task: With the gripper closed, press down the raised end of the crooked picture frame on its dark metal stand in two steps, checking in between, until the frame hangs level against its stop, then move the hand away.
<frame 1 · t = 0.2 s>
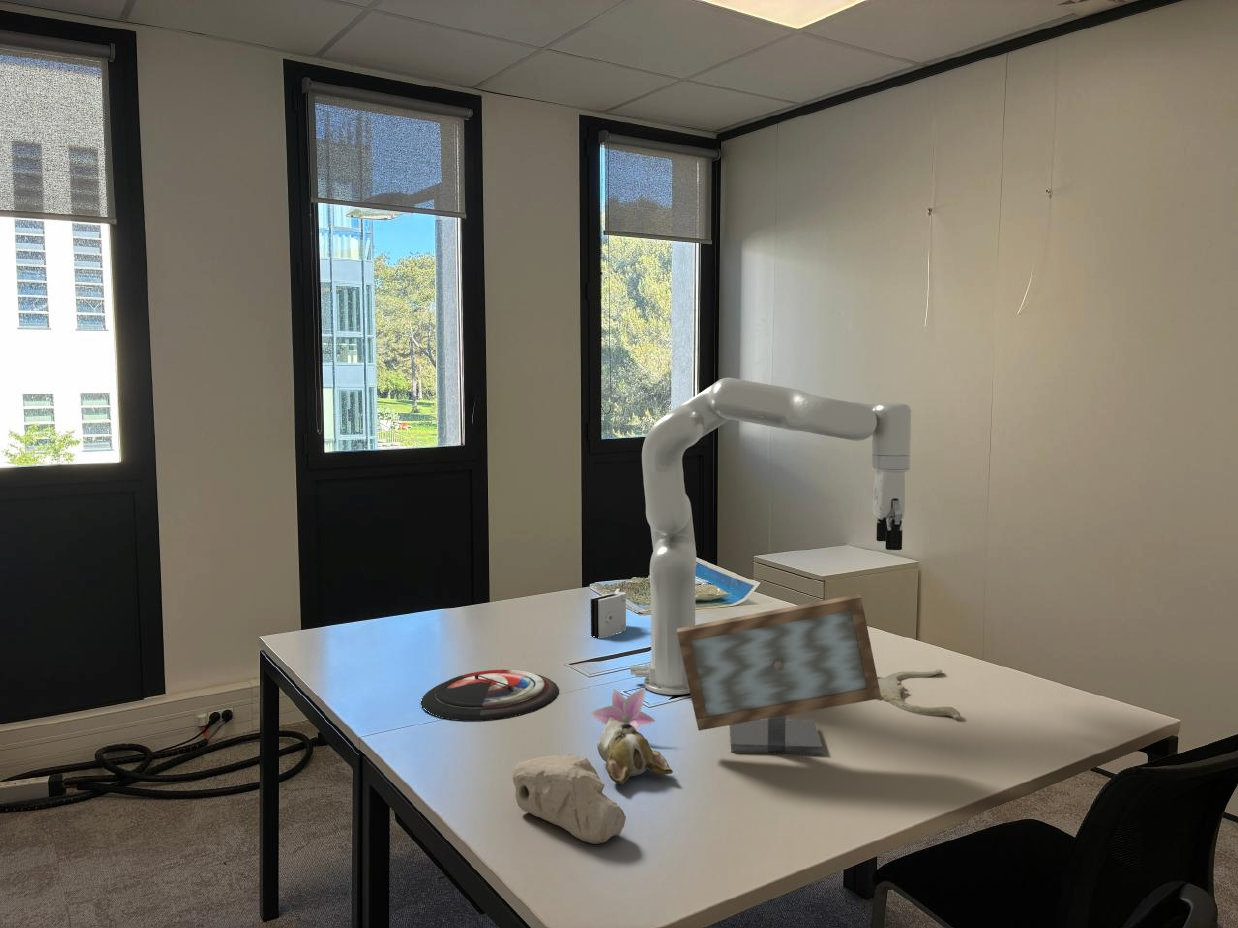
hand: (888, 545, 194), 31 cm above the table, fingers open, 9 cm apart
picture frame: (778, 663, 163), point 17 cm above the table, hinge at 12.0°
frame stand: (777, 756, 165), on the table
decorative stone: (566, 824, 142), on the table
wall clock: (490, 699, 197), on the table
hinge: (609, 632, 244), on the table
ceramic sculpture: (628, 773, 159), on the table
decorative wall piece: (876, 694, 198), on the table
lily: (624, 740, 173), on the table
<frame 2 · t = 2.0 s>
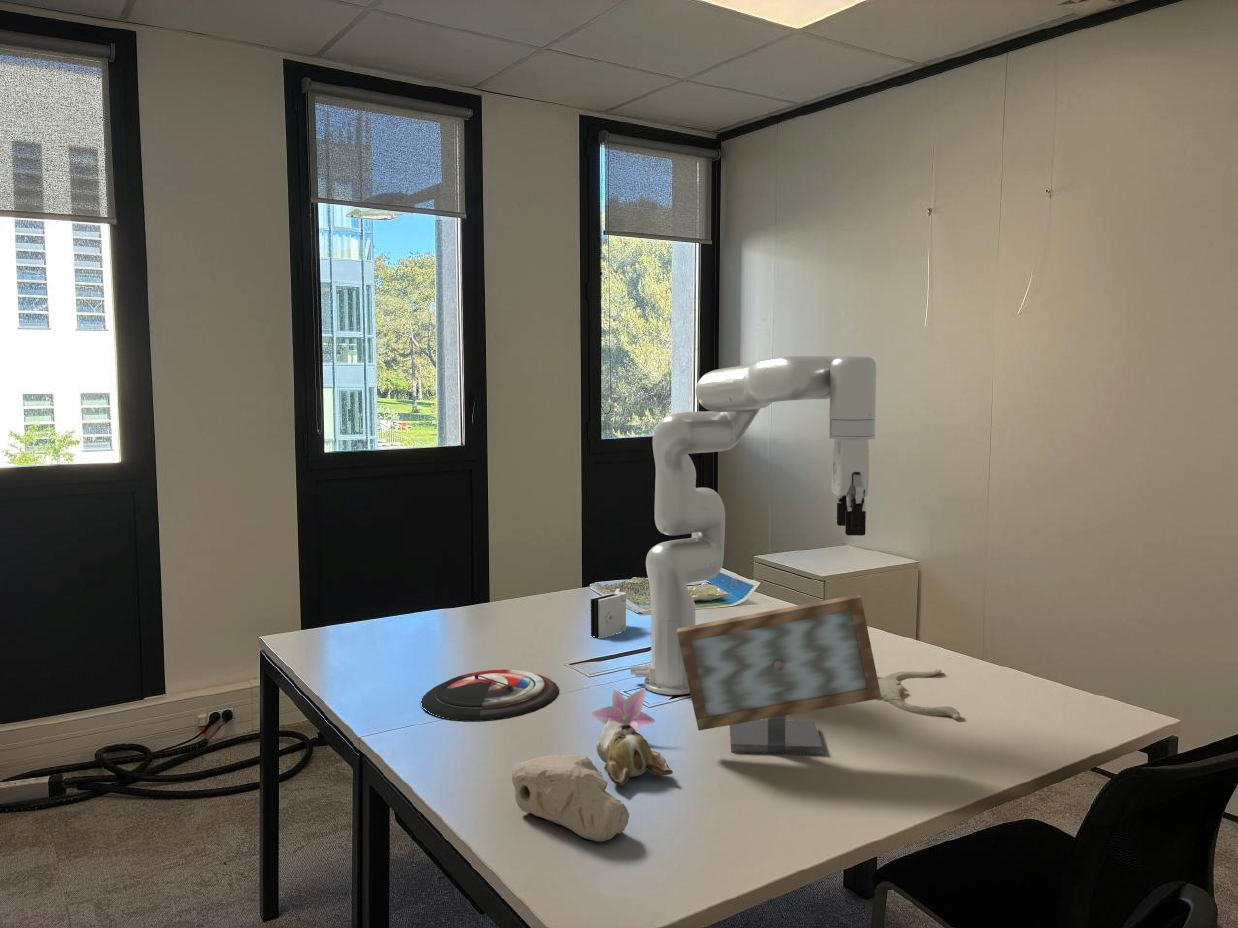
hand: (850, 530, 160), 40 cm above the table, fingers open, 9 cm apart
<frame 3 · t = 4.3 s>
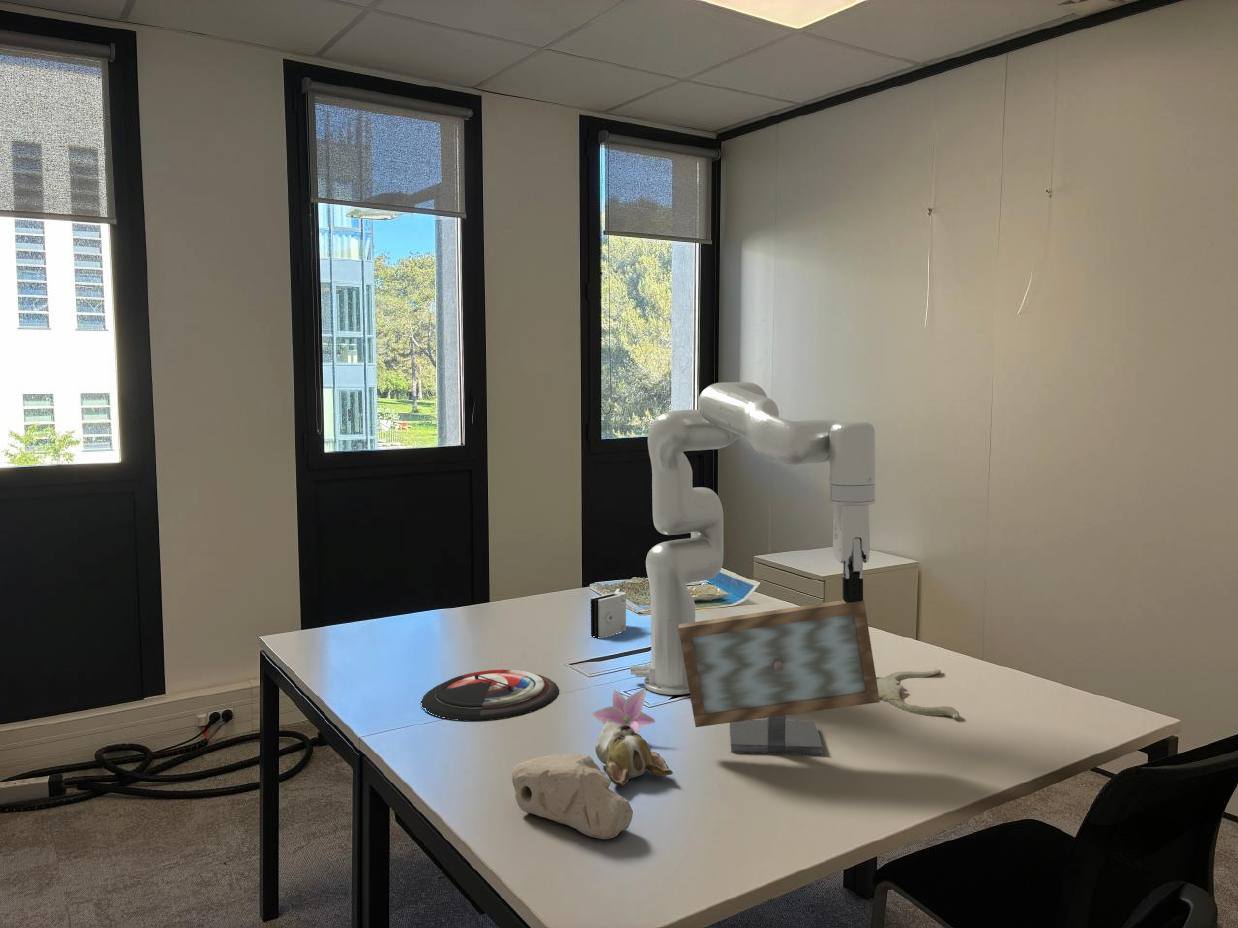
hand: (852, 600, 160), 28 cm above the table, fingers closed
picture frame: (778, 663, 163), point 17 cm above the table, hinge at 9.6°, touching gripper
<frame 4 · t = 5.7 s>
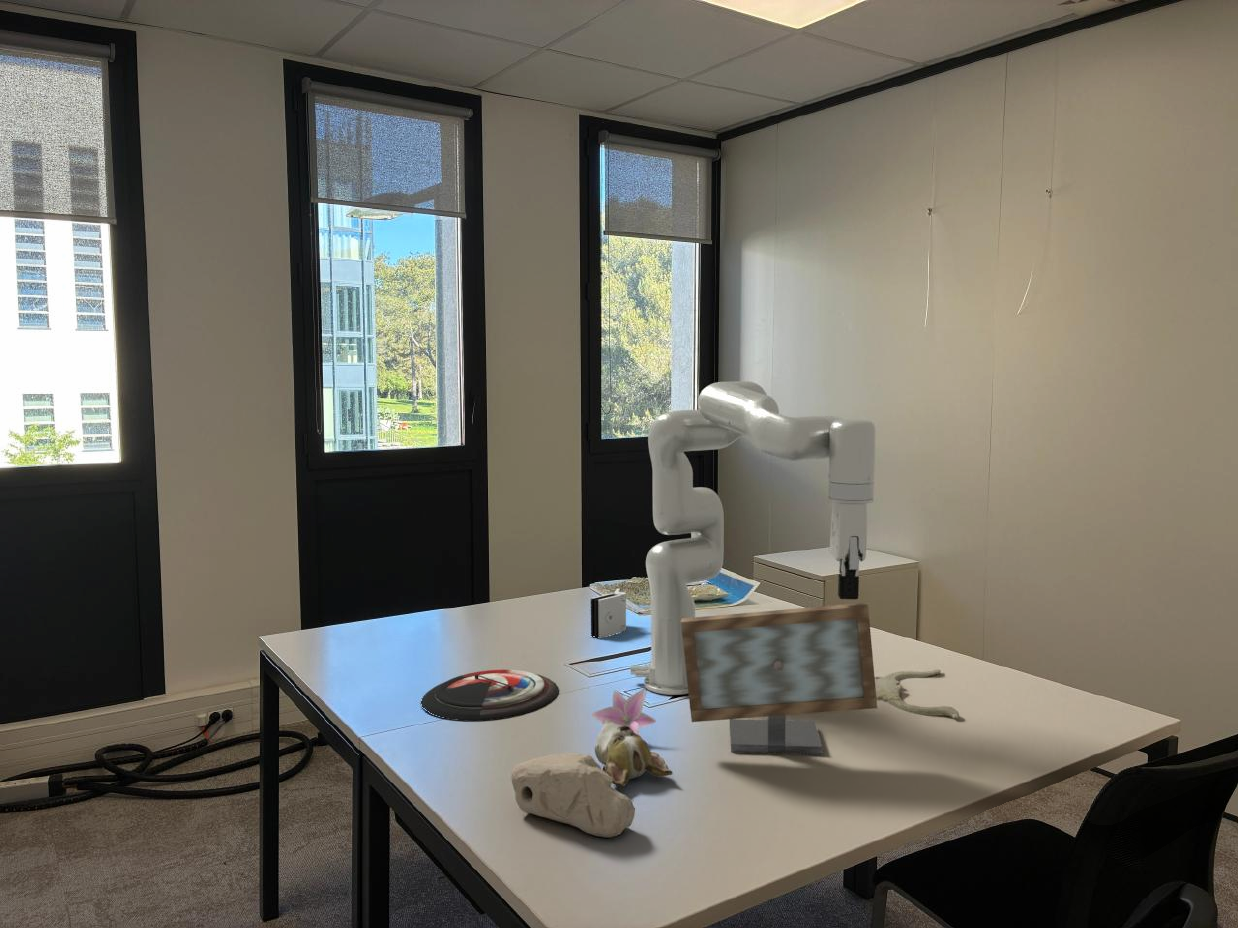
hand: (848, 597, 161), 29 cm above the table, fingers closed
picture frame: (778, 663, 163), point 17 cm above the table, hinge at 6.0°
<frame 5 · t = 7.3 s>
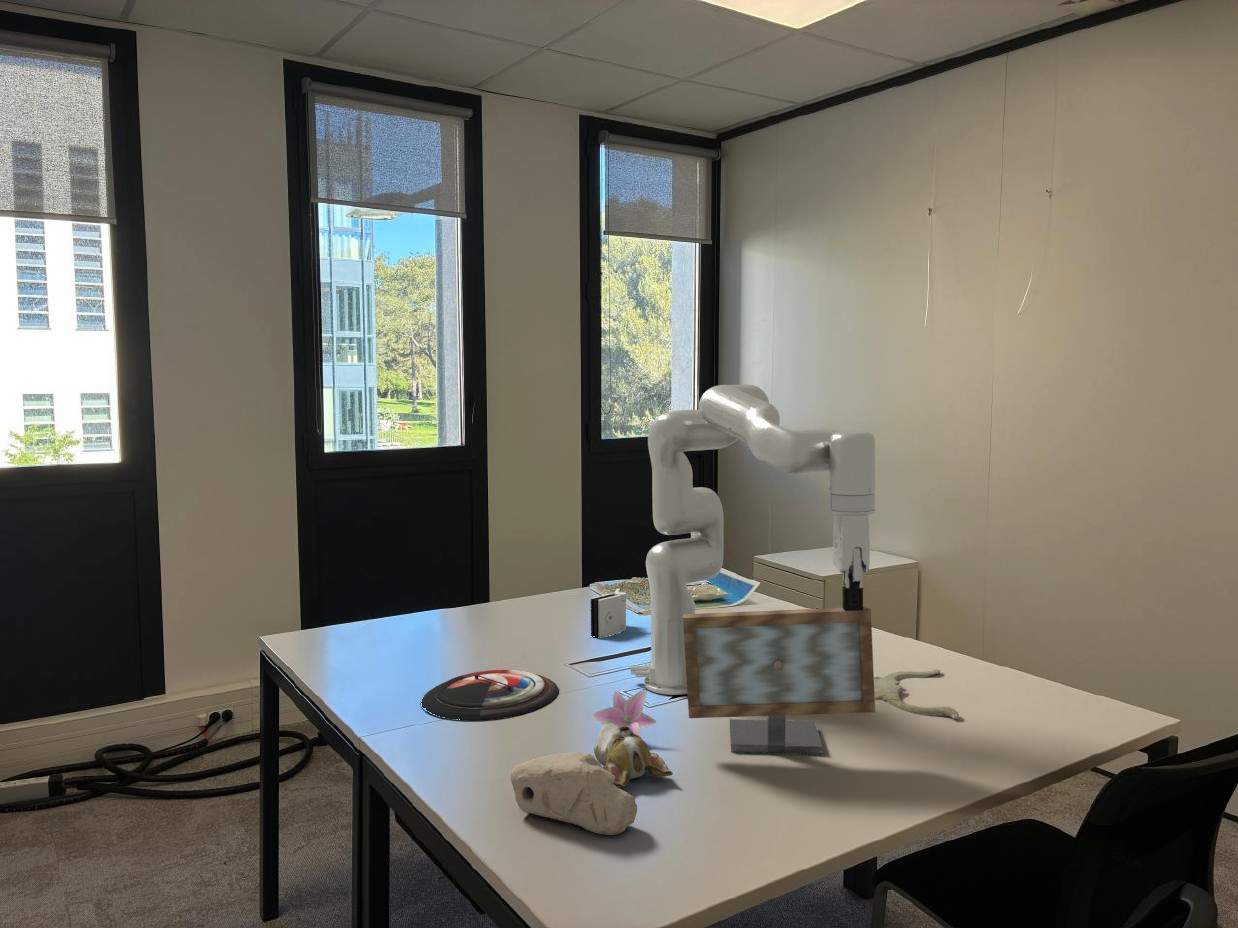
hand: (852, 609, 161), 27 cm above the table, fingers closed
picture frame: (778, 663, 163), point 17 cm above the table, hinge at 3.4°, touching gripper
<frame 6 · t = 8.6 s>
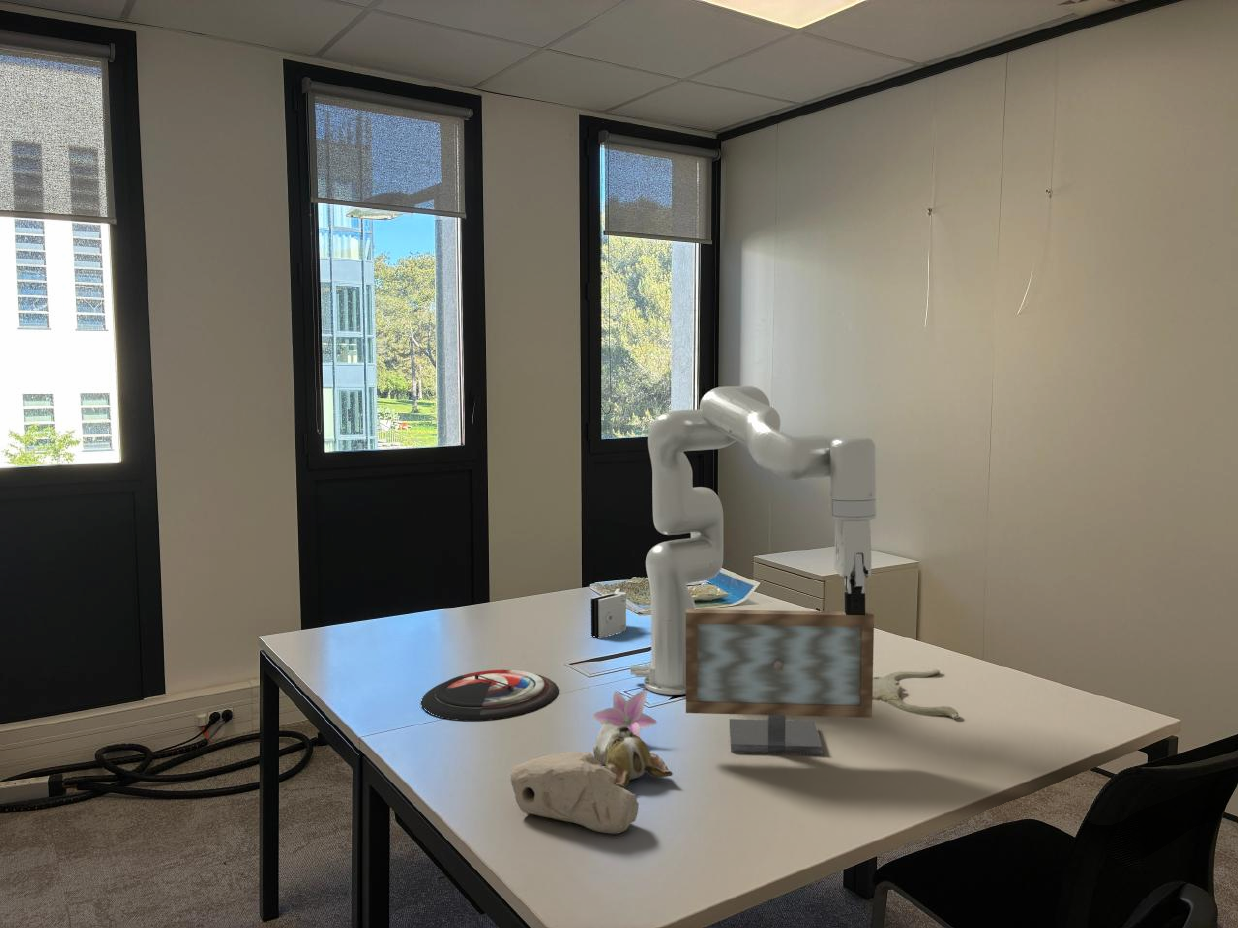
hand: (855, 615, 160), 26 cm above the table, fingers closed
picture frame: (778, 663, 163), point 17 cm above the table, hinge at 0.0°, touching gripper
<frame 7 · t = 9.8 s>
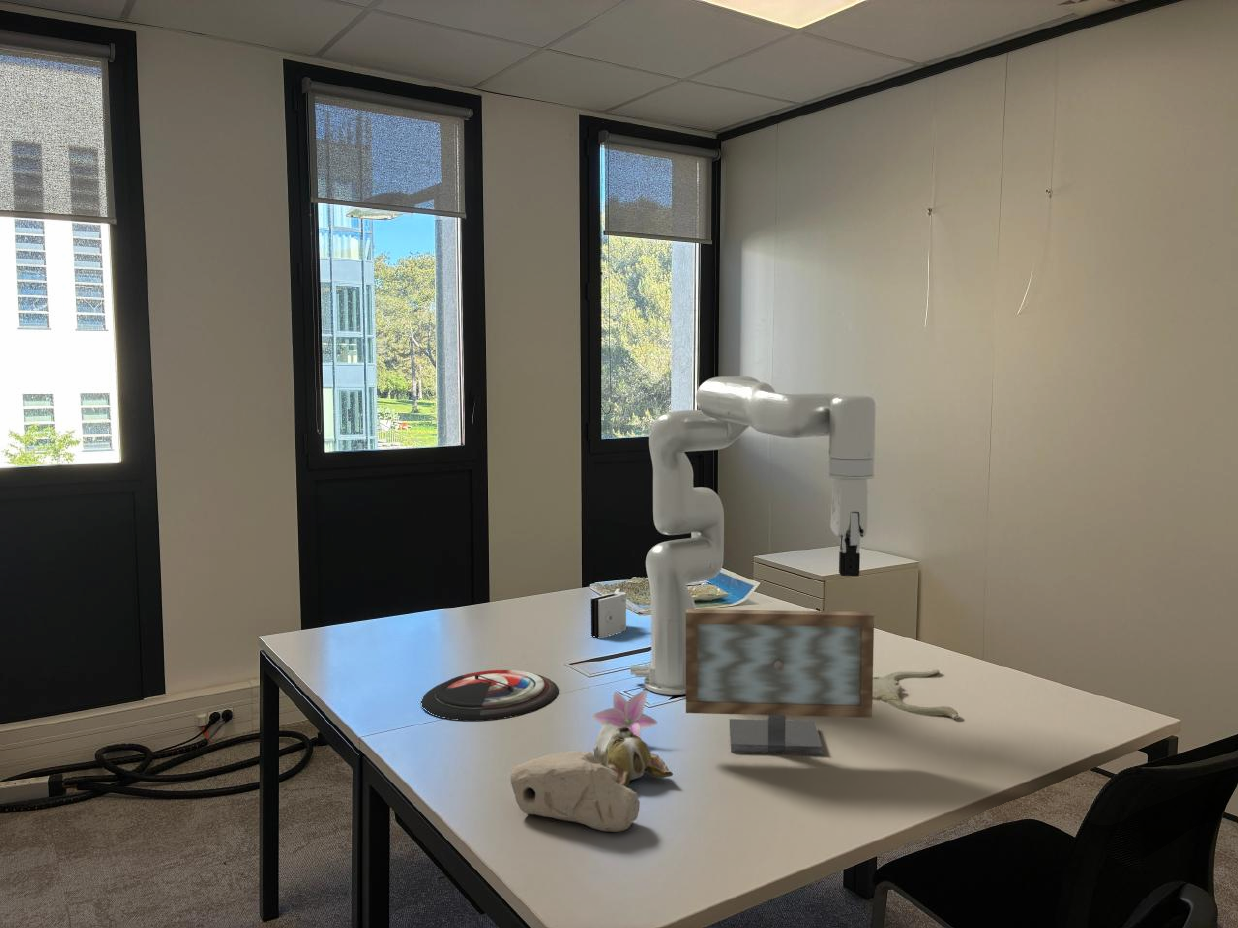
hand: (848, 574, 160), 33 cm above the table, fingers closed
picture frame: (778, 663, 163), point 17 cm above the table, hinge at 0.0°
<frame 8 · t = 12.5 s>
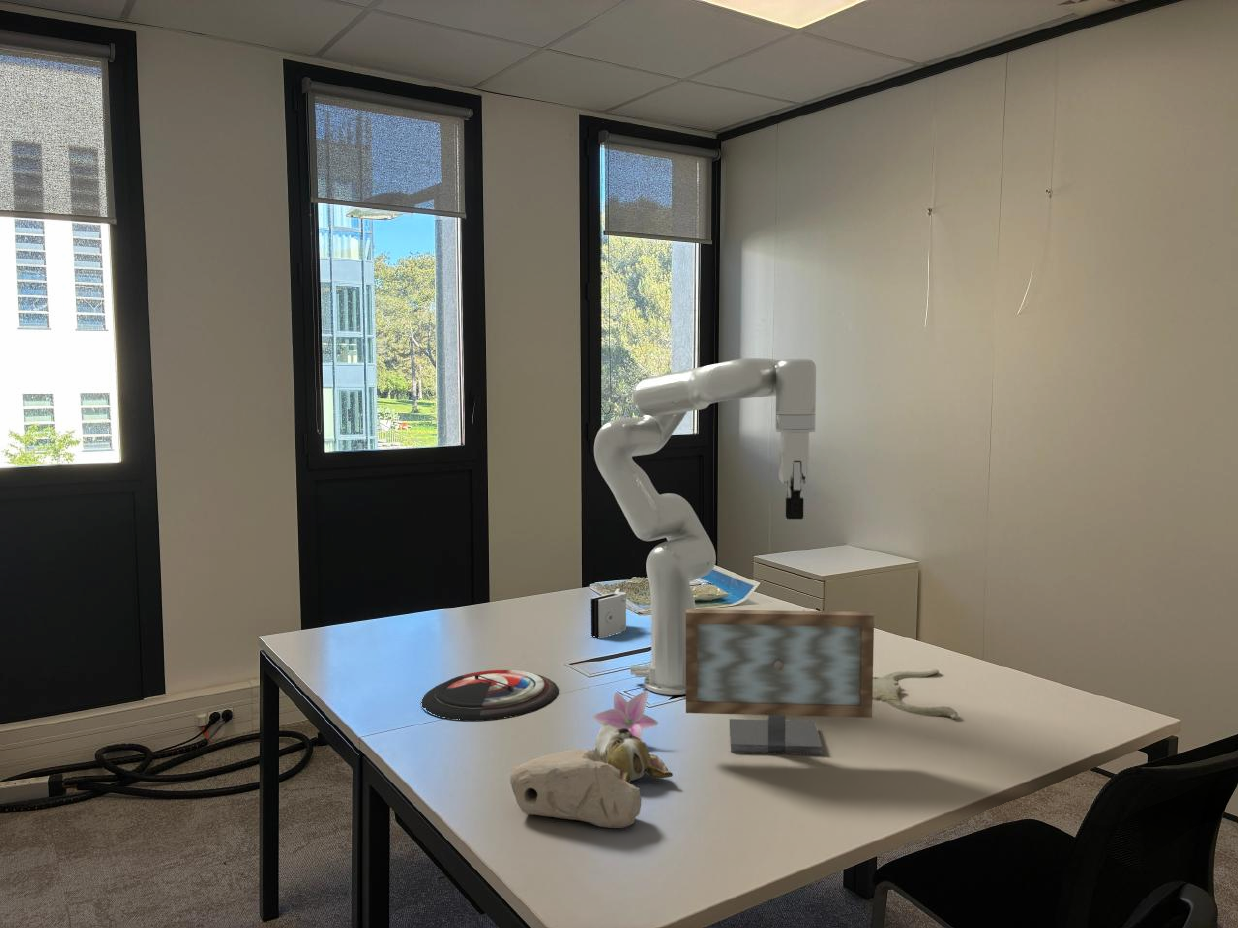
hand: (794, 518, 181), 39 cm above the table, fingers closed
at the end: picture frame at +0° (first picture: +12°); picture frame tilted 0° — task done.
